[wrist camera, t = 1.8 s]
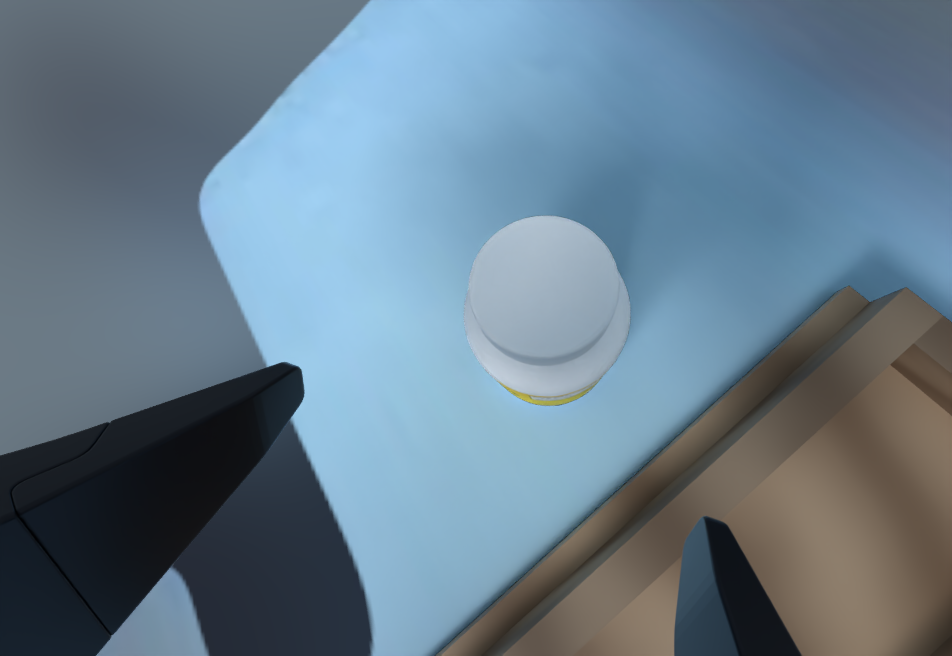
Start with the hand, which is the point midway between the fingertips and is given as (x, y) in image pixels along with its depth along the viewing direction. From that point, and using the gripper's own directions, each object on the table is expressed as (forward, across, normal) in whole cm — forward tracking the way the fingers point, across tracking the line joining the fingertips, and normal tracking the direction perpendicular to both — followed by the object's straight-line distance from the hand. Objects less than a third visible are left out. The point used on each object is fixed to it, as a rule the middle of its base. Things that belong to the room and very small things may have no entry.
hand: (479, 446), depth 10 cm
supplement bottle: (+11, 0, +5) cm, 12 cm away
